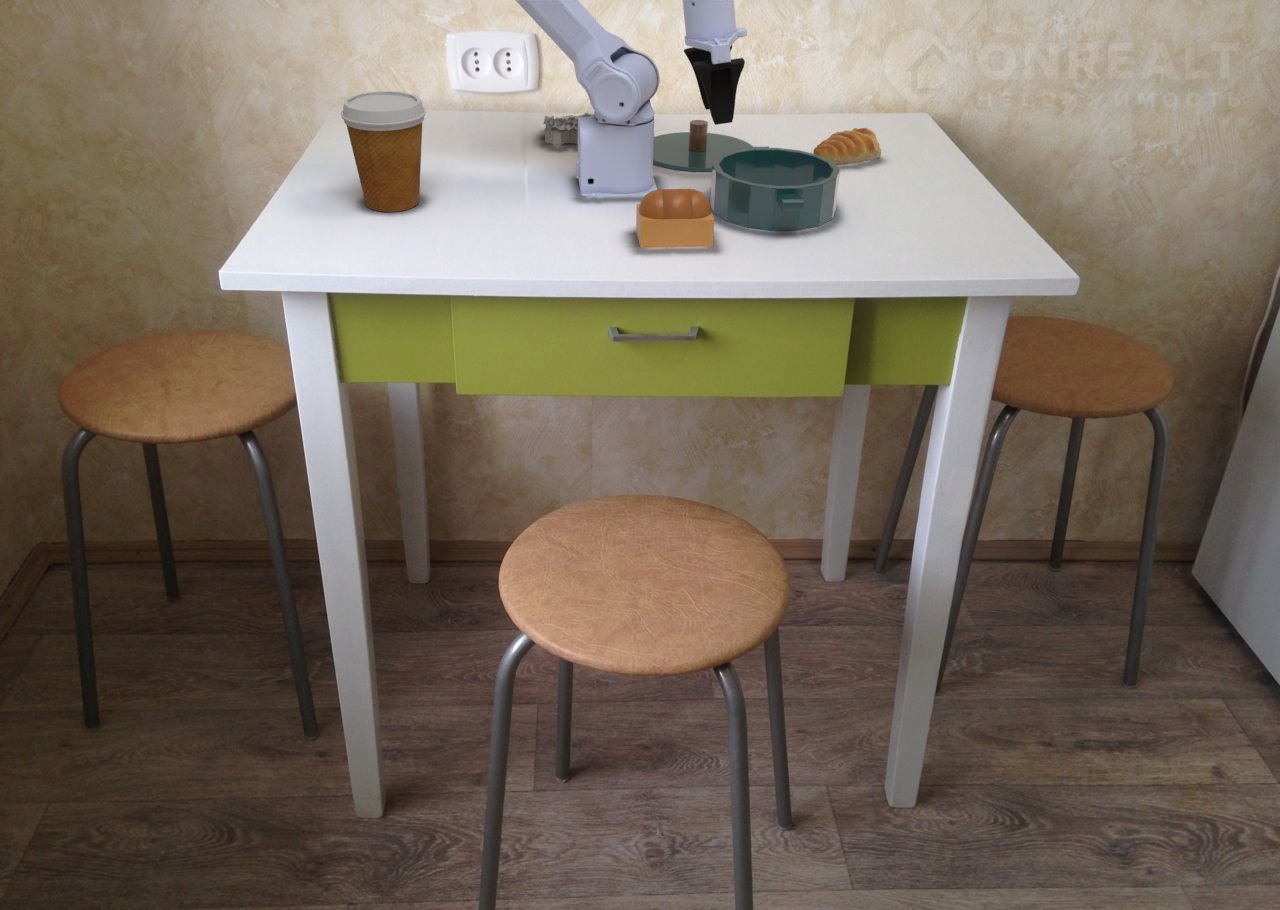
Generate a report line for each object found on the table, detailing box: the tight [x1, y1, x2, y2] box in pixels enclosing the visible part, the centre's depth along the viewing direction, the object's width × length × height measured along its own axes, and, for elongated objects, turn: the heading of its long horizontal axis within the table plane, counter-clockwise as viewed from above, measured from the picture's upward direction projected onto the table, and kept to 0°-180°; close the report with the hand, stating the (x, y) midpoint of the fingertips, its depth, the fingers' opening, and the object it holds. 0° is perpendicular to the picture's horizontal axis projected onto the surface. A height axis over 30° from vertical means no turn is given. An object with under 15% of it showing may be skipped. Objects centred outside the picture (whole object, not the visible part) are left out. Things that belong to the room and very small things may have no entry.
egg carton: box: [543, 112, 595, 147], centre depth 156 cm, size 11×8×4 cm
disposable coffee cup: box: [340, 90, 427, 213], centre depth 133 cm, size 10×10×12 cm
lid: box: [653, 119, 754, 173], centre depth 152 cm, size 16×16×5 cm
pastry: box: [812, 127, 882, 166], centre depth 152 cm, size 9×7×4 cm
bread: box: [635, 188, 715, 249], centre depth 125 cm, size 8×5×6 cm, turn 96°
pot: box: [709, 146, 841, 232], centre depth 134 cm, size 15×20×6 cm
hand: (718, 115), depth 134 cm, fingers open, 7 cm apart
